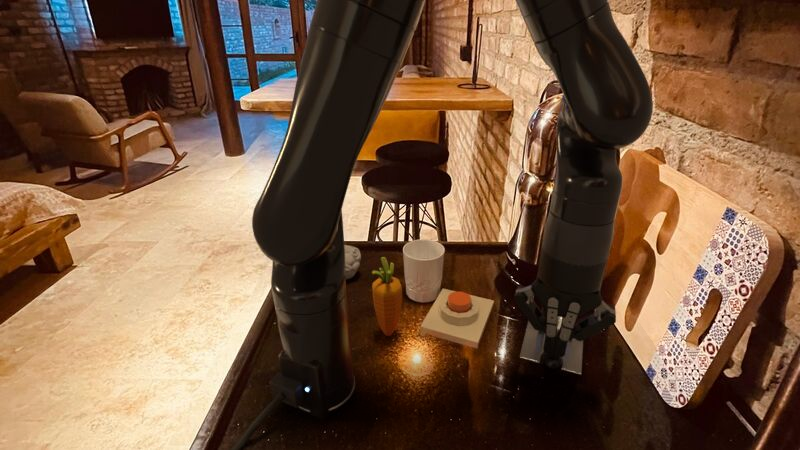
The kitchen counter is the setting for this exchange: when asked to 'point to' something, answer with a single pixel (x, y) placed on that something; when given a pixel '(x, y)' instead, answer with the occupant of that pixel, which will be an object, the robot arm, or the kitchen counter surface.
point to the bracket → (534, 349)
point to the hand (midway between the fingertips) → (553, 354)
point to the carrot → (387, 298)
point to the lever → (550, 363)
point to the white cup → (423, 269)
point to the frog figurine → (351, 260)
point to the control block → (457, 320)
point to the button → (459, 302)
